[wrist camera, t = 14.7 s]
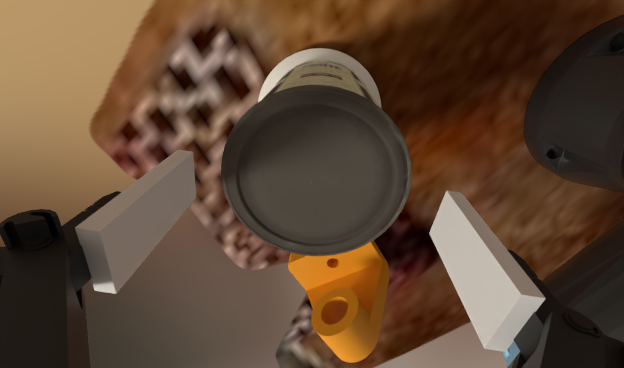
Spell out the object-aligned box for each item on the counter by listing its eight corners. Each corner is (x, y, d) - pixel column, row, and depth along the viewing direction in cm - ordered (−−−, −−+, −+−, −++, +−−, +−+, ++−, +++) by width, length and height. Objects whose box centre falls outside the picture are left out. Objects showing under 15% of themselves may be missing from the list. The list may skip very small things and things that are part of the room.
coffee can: (295, 178, 31) (273, 275, 19) (249, 87, 27) (181, 136, 15) (387, 143, 29) (432, 229, 17) (353, 38, 25) (378, 46, 12)
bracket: (361, 217, 35) (376, 299, 24) (386, 257, 38) (408, 346, 27) (287, 250, 38) (271, 335, 27) (315, 285, 41) (310, 374, 30)
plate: (393, 58, 26) (396, 59, 25) (364, 174, 32) (365, 179, 31) (263, 38, 26) (260, 38, 25) (257, 159, 32) (255, 163, 31)
